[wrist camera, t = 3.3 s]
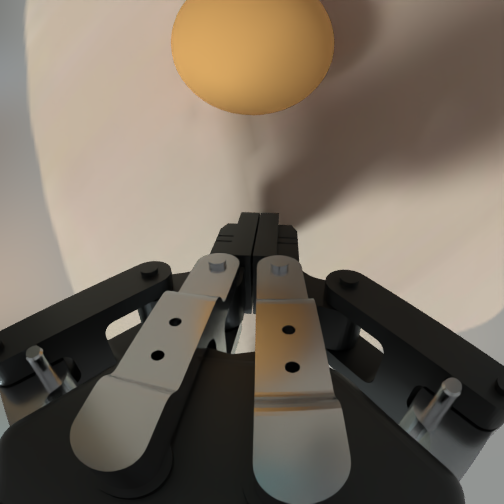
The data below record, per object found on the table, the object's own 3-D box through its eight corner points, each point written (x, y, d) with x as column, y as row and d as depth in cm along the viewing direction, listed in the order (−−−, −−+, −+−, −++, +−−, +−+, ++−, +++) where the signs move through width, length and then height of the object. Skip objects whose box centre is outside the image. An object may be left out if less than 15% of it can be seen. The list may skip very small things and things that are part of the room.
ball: (195, 1, 9) (147, -42, 5) (322, -2, 9) (344, -52, 4) (196, 112, 12) (147, 126, 7) (322, 113, 11) (347, 125, 7)
